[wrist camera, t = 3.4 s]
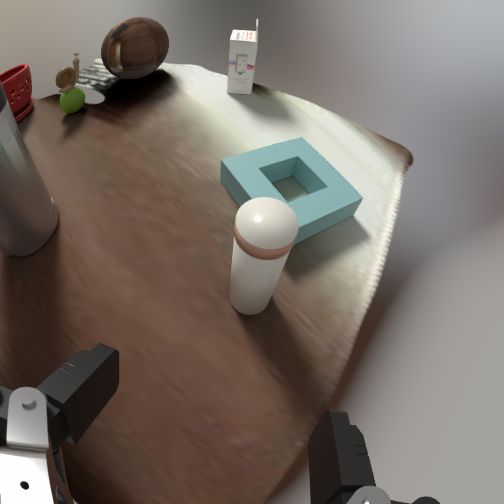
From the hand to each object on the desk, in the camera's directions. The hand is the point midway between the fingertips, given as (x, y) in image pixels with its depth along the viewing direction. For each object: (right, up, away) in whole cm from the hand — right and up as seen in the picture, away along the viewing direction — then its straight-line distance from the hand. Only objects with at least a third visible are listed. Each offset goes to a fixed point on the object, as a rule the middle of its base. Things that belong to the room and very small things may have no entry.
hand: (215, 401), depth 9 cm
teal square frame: (+6, +12, +26) cm, 30 cm away
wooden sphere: (-24, +45, +43) cm, 67 cm away
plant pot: (-54, +37, +35) cm, 74 cm away
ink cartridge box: (-1, +39, +42) cm, 57 cm away
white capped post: (+1, +1, +19) cm, 19 cm away
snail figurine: (-34, +34, +35) cm, 59 cm away
